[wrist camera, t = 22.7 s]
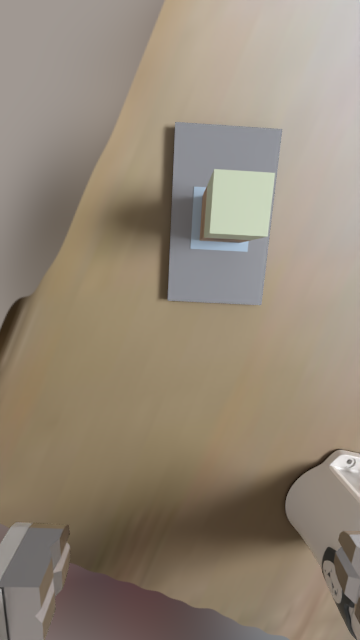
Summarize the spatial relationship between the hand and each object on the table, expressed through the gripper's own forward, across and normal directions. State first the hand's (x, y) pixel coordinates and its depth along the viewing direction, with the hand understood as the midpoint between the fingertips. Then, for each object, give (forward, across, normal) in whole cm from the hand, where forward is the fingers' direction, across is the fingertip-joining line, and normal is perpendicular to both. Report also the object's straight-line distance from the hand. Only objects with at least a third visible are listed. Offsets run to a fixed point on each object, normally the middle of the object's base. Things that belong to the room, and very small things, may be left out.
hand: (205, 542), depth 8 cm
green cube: (+23, +4, +13) cm, 27 cm away
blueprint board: (+29, +4, +13) cm, 32 cm away
